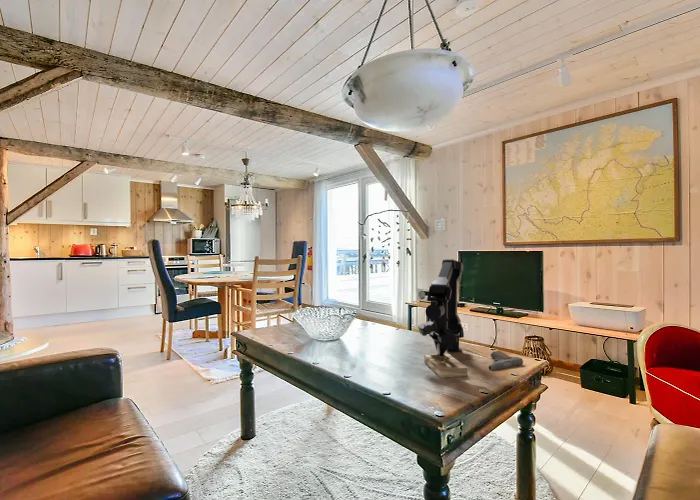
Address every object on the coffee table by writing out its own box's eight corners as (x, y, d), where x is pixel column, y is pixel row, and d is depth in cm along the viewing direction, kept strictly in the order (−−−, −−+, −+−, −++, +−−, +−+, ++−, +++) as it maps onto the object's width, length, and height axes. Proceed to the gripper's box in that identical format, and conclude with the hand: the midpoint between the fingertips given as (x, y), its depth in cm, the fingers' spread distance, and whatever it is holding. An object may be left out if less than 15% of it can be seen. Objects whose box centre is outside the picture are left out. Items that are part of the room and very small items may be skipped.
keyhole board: (424, 362, 143) (424, 354, 143) (448, 360, 145) (448, 353, 145) (440, 377, 127) (440, 369, 126) (467, 376, 128) (467, 367, 128)
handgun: (470, 355, 144) (492, 364, 133) (500, 349, 150) (524, 358, 139) (470, 363, 144) (492, 373, 133) (500, 357, 150) (524, 366, 139)
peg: (432, 361, 142) (432, 342, 142) (443, 361, 143) (443, 342, 142) (436, 365, 138) (436, 346, 138) (447, 364, 138) (447, 345, 138)
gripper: (412, 311, 148) (412, 349, 148) (428, 321, 129) (428, 364, 130) (438, 310, 149) (438, 347, 150) (457, 319, 131) (458, 362, 131)
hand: (440, 354), depth 140 cm, fingers closed on peg, 2 cm apart
